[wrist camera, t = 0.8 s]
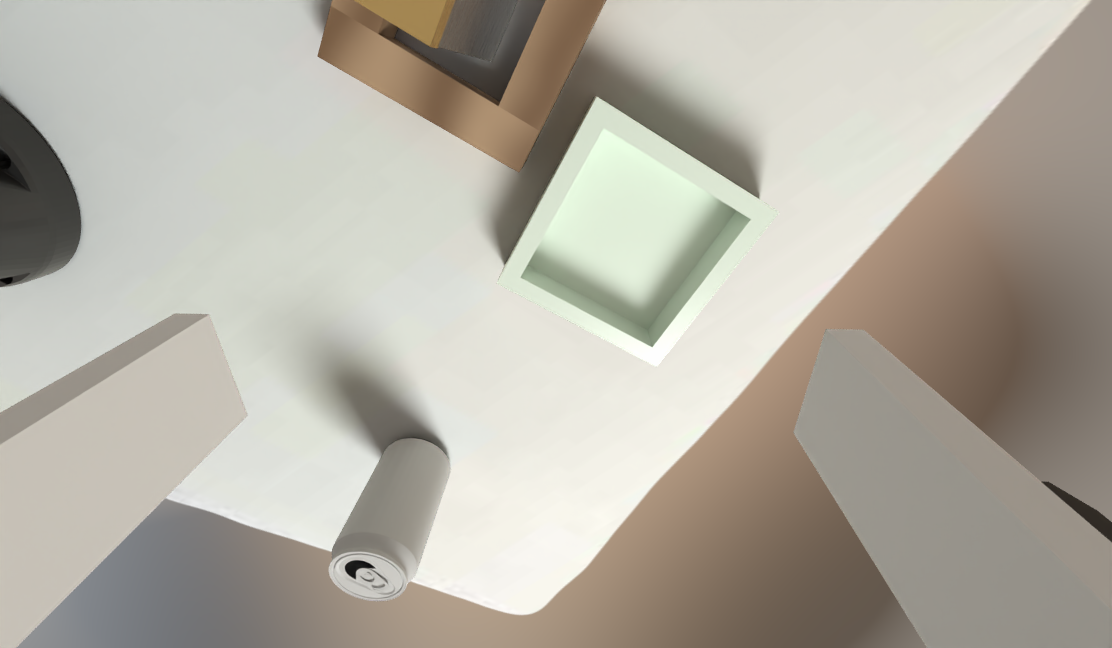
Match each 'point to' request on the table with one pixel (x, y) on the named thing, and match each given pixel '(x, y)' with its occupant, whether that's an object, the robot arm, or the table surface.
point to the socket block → (449, 100)
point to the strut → (450, 22)
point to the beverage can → (391, 522)
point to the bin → (632, 236)
